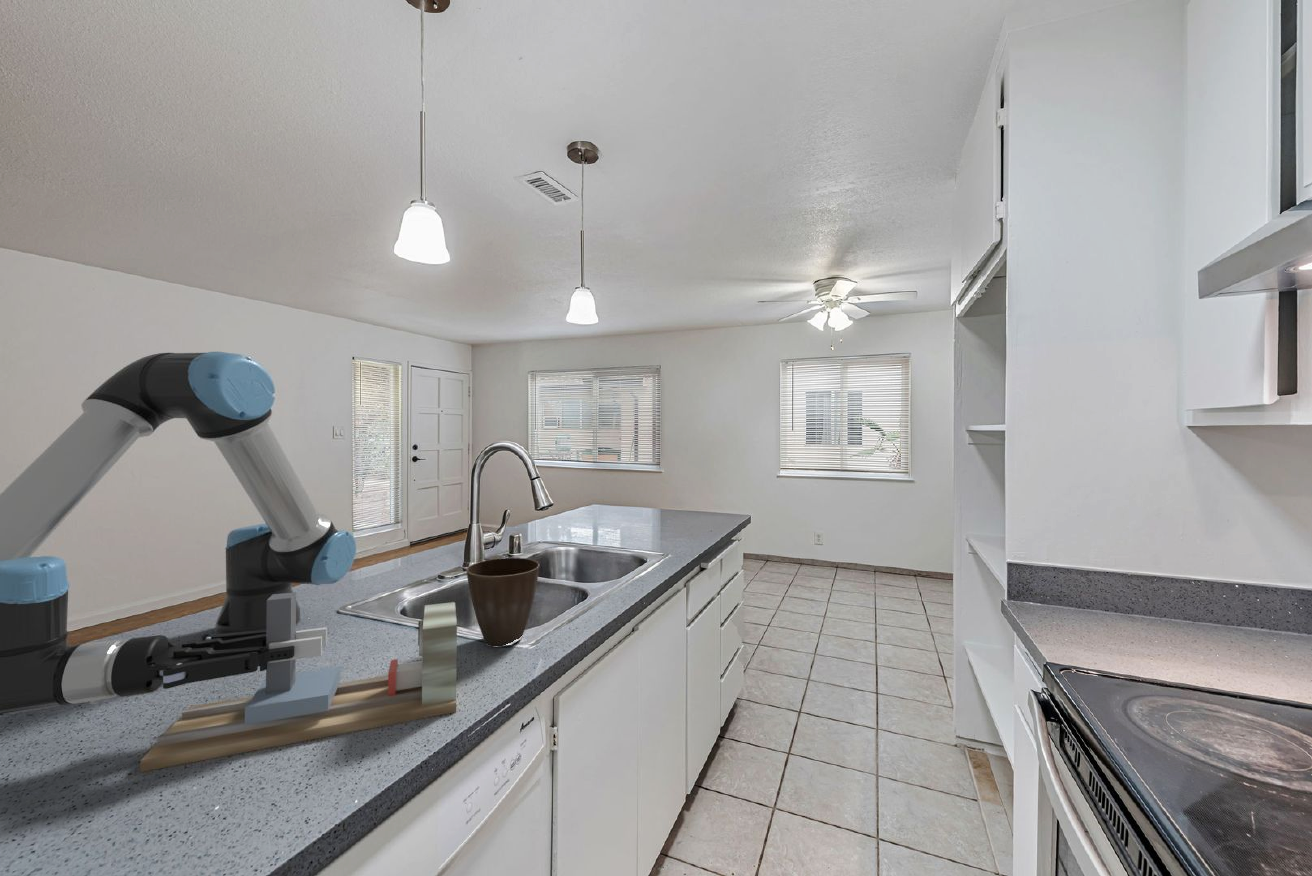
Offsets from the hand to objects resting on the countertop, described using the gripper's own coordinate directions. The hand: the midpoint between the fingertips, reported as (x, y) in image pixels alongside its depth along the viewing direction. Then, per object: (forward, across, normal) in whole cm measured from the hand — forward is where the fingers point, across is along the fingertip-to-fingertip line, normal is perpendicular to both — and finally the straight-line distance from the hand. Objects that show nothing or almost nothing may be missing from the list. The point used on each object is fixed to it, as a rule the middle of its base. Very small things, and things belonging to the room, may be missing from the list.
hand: (323, 641), depth 79 cm
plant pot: (+29, -19, -12) cm, 37 cm away
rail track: (0, 0, -12) cm, 12 cm away
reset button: (+13, 0, -10) cm, 16 cm away
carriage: (-4, 0, -9) cm, 9 cm away
